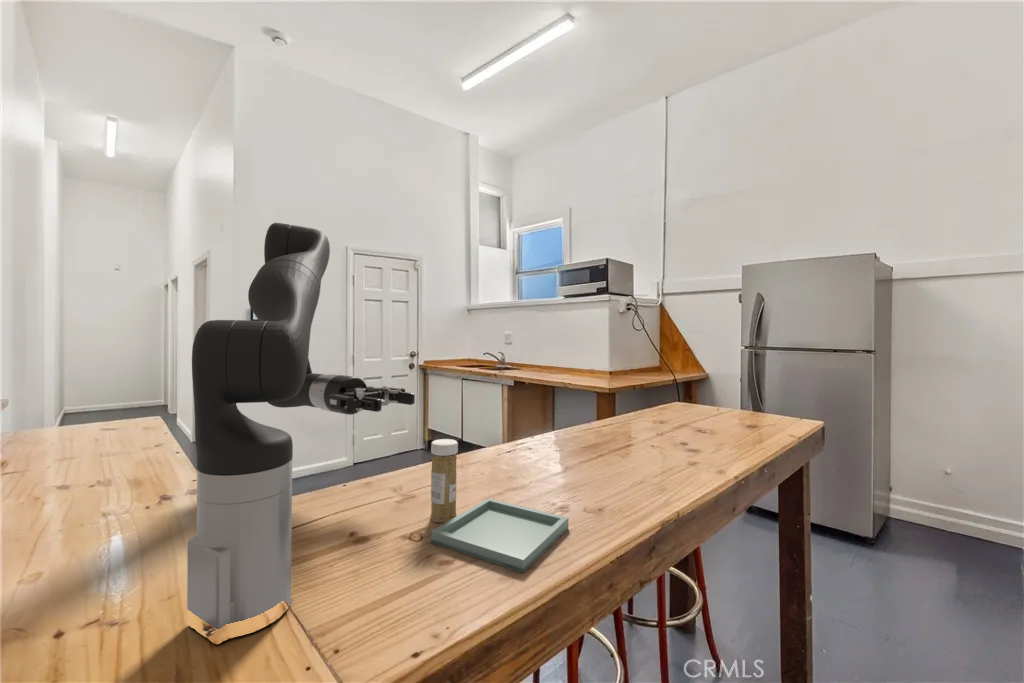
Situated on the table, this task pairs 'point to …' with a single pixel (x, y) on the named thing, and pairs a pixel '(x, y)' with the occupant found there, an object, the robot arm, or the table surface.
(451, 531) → the tray
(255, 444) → the robot arm
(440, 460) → the spice jar
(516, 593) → the table surface
